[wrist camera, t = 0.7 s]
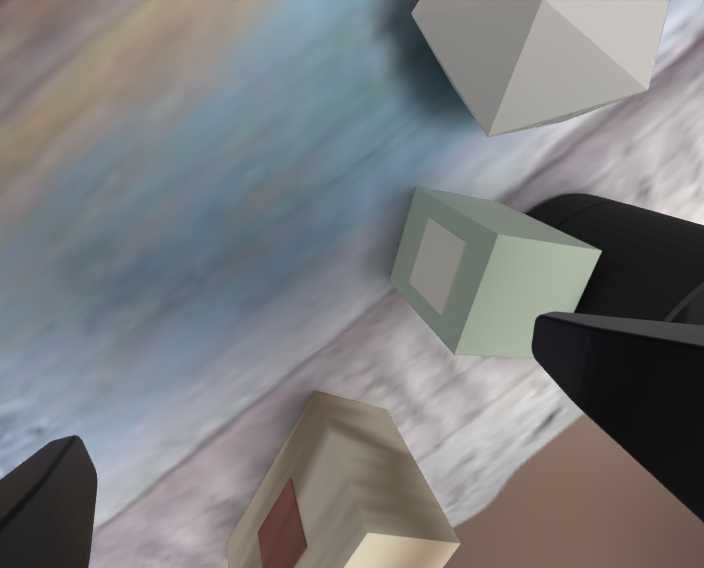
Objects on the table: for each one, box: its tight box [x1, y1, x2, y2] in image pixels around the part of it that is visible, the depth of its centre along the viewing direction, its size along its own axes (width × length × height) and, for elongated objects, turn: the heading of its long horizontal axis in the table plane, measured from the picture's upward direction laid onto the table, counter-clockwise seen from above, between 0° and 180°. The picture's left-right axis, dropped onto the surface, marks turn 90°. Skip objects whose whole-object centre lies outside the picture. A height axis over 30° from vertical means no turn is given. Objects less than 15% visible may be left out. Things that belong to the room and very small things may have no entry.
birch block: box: [227, 391, 460, 568], centre depth 24 cm, size 5×12×9 cm, turn 150°
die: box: [411, 0, 670, 137], centre depth 17 cm, size 8×9×10 cm
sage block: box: [389, 187, 602, 358], centre depth 21 cm, size 5×5×7 cm
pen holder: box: [528, 194, 704, 326], centre depth 23 cm, size 9×9×10 cm
